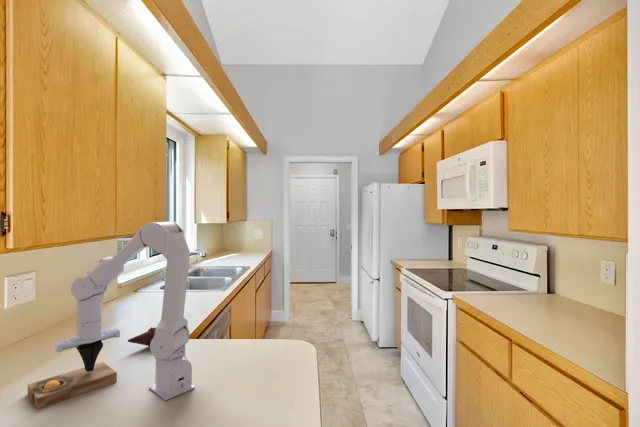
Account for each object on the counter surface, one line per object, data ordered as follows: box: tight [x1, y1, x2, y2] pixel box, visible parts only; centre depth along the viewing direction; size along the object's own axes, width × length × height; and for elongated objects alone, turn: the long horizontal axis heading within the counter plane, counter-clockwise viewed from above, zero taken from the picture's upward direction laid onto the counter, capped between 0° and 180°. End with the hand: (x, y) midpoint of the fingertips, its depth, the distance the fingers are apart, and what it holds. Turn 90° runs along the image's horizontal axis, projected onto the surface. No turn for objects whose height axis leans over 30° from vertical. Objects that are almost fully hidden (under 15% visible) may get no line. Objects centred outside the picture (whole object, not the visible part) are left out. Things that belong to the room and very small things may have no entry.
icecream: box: [127, 326, 157, 348], centre depth 117 cm, size 7×8×15 cm
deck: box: [27, 361, 118, 410], centre depth 90 cm, size 10×17×2 cm, turn 141°
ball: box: [43, 380, 60, 390], centre depth 86 cm, size 3×3×3 cm
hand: (89, 370), depth 92 cm, fingers closed
